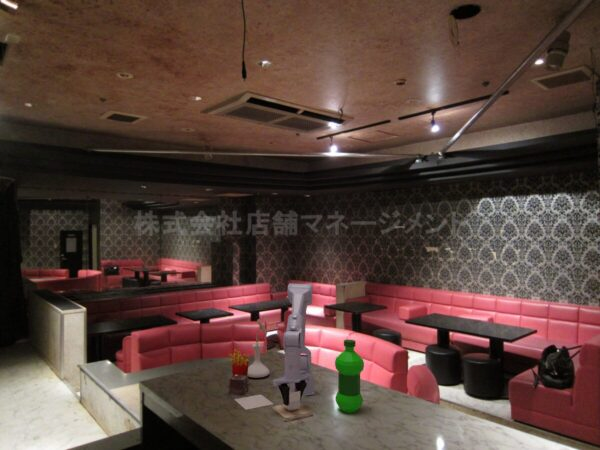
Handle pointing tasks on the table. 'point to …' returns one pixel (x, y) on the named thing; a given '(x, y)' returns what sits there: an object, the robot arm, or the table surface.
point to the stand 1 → (253, 402)
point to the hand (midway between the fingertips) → (291, 403)
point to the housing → (293, 399)
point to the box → (238, 384)
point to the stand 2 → (292, 412)
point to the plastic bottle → (349, 378)
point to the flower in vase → (258, 358)
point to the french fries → (239, 363)
